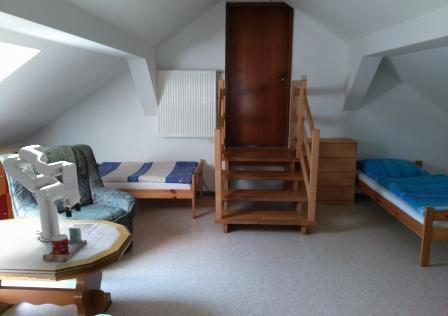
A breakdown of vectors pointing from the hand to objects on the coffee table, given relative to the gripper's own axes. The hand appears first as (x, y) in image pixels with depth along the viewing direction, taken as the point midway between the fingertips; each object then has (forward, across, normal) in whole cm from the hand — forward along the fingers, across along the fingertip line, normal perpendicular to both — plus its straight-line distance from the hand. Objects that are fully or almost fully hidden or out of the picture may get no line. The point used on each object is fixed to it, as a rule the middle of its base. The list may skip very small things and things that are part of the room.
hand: (73, 213), depth 200 cm
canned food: (+18, +15, 0) cm, 24 cm away
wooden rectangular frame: (+18, +10, 0) cm, 21 cm away
